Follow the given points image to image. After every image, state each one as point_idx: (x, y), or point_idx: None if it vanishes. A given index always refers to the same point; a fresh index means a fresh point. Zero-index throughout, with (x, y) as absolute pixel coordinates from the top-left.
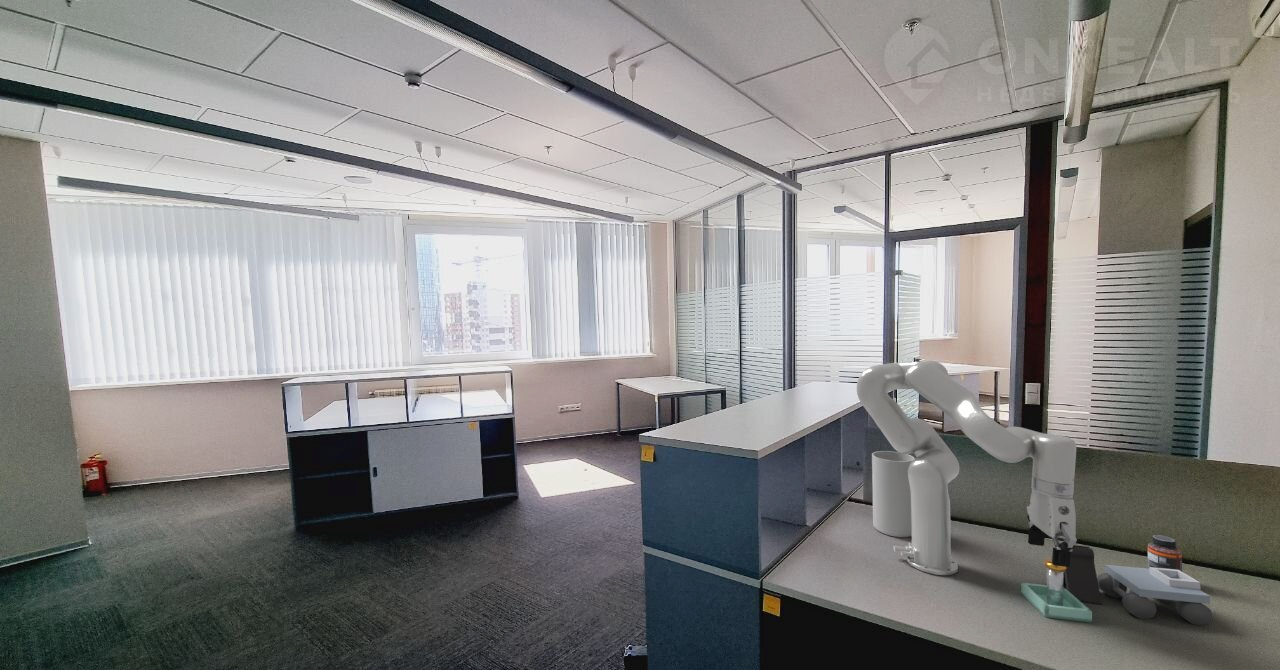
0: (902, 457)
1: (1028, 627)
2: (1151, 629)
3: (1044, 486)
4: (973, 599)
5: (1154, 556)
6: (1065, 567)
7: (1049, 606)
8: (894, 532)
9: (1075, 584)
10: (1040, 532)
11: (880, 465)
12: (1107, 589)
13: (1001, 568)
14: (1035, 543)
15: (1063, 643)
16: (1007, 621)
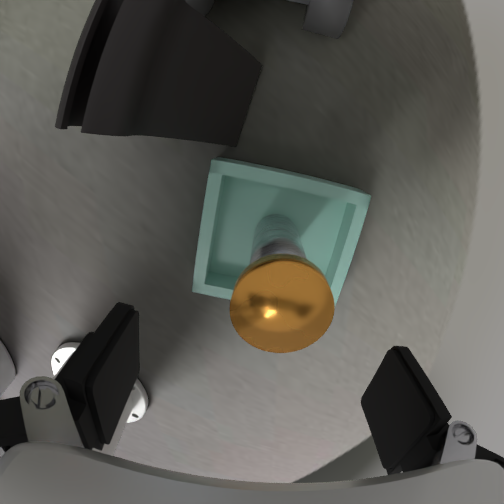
0: None
1: (354, 357)
2: (385, 48)
3: None
4: (243, 395)
5: None
6: (330, 289)
7: (334, 307)
8: (11, 374)
9: (218, 119)
10: (101, 399)
11: None
12: (206, 3)
13: (67, 232)
14: (135, 355)
15: (410, 326)
16: (328, 381)
